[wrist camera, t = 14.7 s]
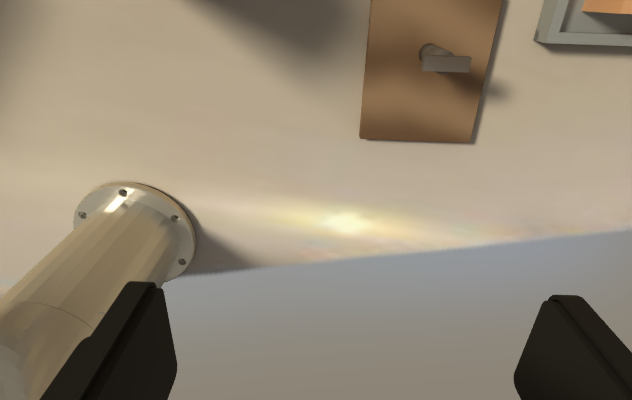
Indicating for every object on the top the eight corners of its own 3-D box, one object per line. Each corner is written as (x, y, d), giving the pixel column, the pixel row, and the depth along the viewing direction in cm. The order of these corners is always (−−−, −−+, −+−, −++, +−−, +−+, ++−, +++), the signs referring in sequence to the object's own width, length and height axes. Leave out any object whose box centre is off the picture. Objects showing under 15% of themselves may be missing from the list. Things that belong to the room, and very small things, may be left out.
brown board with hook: (466, 139, 36) (492, 166, 30) (359, 135, 36) (365, 161, 30) (498, -7, 30) (539, -7, 25) (371, -11, 30) (382, -13, 25)
